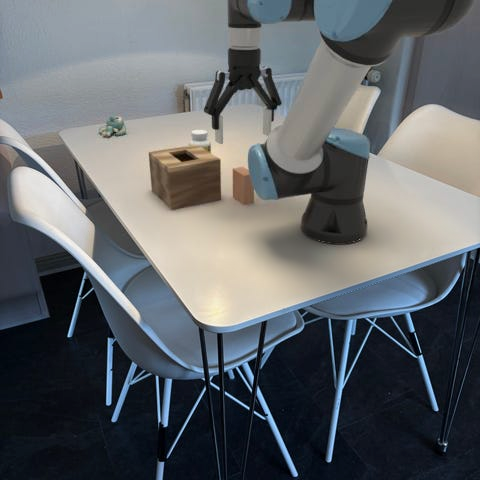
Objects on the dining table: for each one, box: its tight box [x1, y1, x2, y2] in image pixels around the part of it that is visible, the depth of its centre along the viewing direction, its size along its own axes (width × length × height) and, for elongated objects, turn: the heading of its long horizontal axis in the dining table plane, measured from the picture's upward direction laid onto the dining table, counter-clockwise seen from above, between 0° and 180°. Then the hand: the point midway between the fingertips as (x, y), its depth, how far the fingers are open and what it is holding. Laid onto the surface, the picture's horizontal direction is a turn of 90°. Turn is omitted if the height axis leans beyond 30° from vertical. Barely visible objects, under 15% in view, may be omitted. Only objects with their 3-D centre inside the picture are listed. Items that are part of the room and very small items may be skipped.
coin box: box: [148, 145, 222, 211], centre depth 130 cm, size 14×14×11 cm
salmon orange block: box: [232, 166, 255, 206], centre depth 129 cm, size 6×3×8 cm, turn 29°
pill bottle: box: [188, 129, 212, 154], centre depth 148 cm, size 6×6×12 cm
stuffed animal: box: [98, 115, 127, 137], centre depth 182 cm, size 11×7×12 cm
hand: (243, 138), depth 123 cm, fingers open, 13 cm apart
